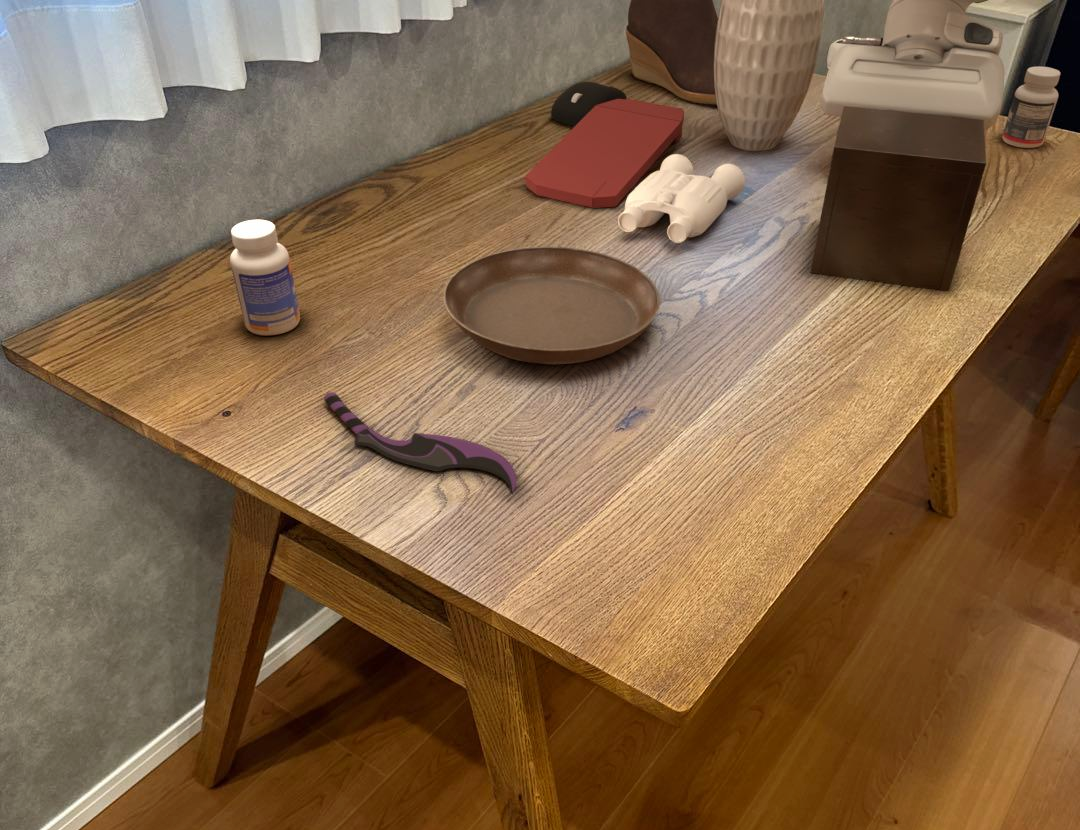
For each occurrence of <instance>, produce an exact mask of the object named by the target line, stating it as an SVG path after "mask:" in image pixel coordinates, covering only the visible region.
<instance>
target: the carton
mask: <svg viewBox="0 0 1080 830" xmlns="http://www.w3.org/2000/svg"><path fill="white" fill-rule="evenodd" d="M684 121H685V110H684V109H683V108H680V107H677V106H676V107H675V106H670V105H664V104H660V103H654V102H648V101H642V100H637V99H631V98H627V99H625V100H624V99H615V100H612V101H608V102H605V103H602V104H598V105H596V106H595V107H594V108H593V109H592V110H591V111H590V112H589V113H588V114H587V115H586V116H585V117H584V118H583V119H582V120H581V121H580V122H579V123H578V124H577V125H576V126H575V127H574V126H573V128H571V129H570V130H569V131H568V132H567V133H566V134H565V135H564V136H563V137H562V138H561V140H559V141H558V142H557V143H556V144H555V145H554V147H552V148H551V149H550V150H549V151H548V152H547V153H546V155H544V156H543V158H541V159H540V160H539V161H538V162H537V163H536V164H535V165H534V166H533V167H532V168H531V169H530V170H529V171H528V172H527V173H526V174H525V175H524V181H525V187H527V188H528V189H529V190H530V191H531V192H532V193H534V194H535V195H536V196H539V197H544V198H549V199H553V200H558V201H561V202H566V203H570V204H574V205H579V206H584V207H587V208H592V209H597V208H599V209H601V208H611V207H612V208H614V207H617V205H618V204H620V202H621V201H622V200H623V199H624V198H625V196H626V195H627V194H628V193H629V192H630V190H632V188H633V187H635V185H636V184H637V183H638V182H639V181H640V180H641V178H643V176H644V175H645V173H647V172H648V170H649V169H650V168H651V167H652V166H653V165H654V163H655V162H656V161H657V160H658V159H659V158H660V156H661V155H662V154H663V153H665V151H666V150H667V148H668V147H669V146H671V144H673V145H676V144H677V143H679V141H680V140H681V139H682V137H683V125H684Z"/></svg>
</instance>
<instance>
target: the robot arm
mask: <svg viewBox="0 0 1080 830" xmlns="http://www.w3.org/2000/svg"><path fill="white" fill-rule="evenodd" d="M988 1H989V0H892V2H891V4H890V5H889V8H888V11H887V15H886V20H885V25H884V30H883V34H882V37H873V36H855V35H843V38H839V39H836V40H834V41H833V42H832V43H830V45H829V46H828V49H827V52H826V58H825V65H826V68H827V74H826V77H825V80H824V83H823V86H822V91H821V96H820V102H819V107H820V109H821V111H822V112H823V114H824V115H825V116H831V117H841V116H842V112H843V108H844V106H848V107H858V108H868V109H878V110H889V111H899V112H909V113H919V114H929V115H940V116H950V117H960V118H970V119H980V120H984V128H985V132H986V131H988V130H989V129H991V128H992V127H993V126H994V125H995V124H996V123H997V121H998V119H999V117H1000V114H1001V110H1002V105H1003V99H1004V92H1005V91H1004V90H1005V66H1004V62H1003V60H1002V58H1001V57H1000V56H999V55H1000V52H1001V49H1002V45H1003V38H1004V36H1003V35H1004V34H1003V33H1002V31H1000V30H999V29H997V28H994V27H992V26H988V25H986V24H984V23H983V22H982V23H981V22H979V21H977V20H975V19H973V18H970V17H969V16H967V15H966V14H967V10H968V8H969V7H970V5H972V4H973V3H975V4H982V3H985V2H988Z"/></svg>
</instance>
